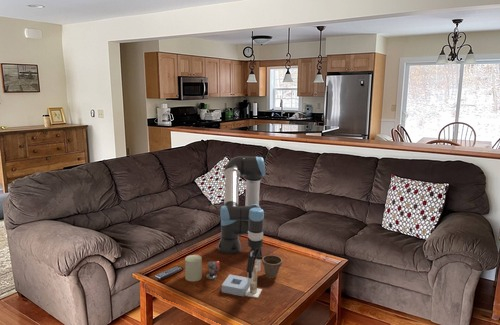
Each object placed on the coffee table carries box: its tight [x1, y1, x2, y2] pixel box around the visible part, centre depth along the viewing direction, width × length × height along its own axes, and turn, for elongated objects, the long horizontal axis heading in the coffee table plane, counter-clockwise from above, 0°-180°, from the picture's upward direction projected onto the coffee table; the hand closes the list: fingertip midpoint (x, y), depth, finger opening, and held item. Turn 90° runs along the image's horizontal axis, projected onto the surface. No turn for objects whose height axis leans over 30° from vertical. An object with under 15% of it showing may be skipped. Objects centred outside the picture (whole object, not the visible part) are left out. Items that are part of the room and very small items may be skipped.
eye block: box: [221, 273, 250, 297], centre depth 199 cm, size 12×12×4 cm
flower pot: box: [261, 254, 283, 279], centre depth 213 cm, size 12×11×10 cm
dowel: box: [249, 264, 258, 294], centre depth 194 cm, size 4×4×14 cm
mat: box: [244, 286, 263, 299], centre depth 196 cm, size 8×7×1 cm
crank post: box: [205, 267, 218, 280], centre depth 210 cm, size 6×6×6 cm
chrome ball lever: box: [207, 260, 220, 272], centre depth 206 cm, size 4×10×6 cm, turn 31°
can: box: [184, 254, 203, 282], centre depth 208 cm, size 9×9×12 cm
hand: (254, 276), depth 194 cm, fingers open, 13 cm apart
